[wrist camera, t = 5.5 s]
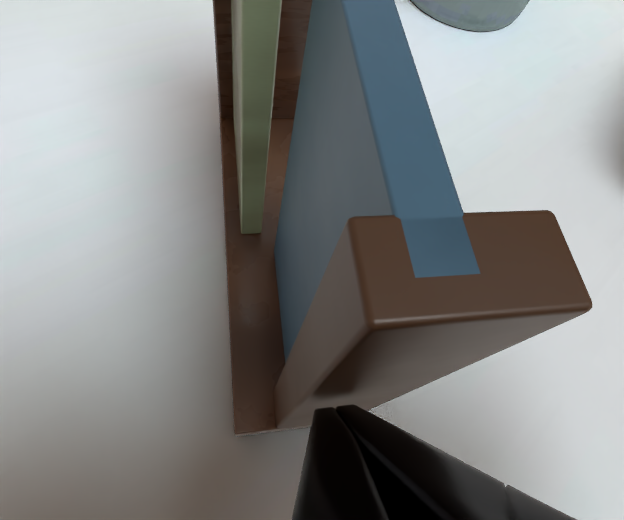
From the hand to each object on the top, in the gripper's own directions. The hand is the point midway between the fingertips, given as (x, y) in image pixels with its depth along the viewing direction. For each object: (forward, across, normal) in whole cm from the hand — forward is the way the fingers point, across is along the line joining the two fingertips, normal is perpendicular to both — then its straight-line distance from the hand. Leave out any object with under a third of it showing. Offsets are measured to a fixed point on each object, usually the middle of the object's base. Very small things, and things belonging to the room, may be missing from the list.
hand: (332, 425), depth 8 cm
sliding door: (+6, 0, -1) cm, 7 cm away
